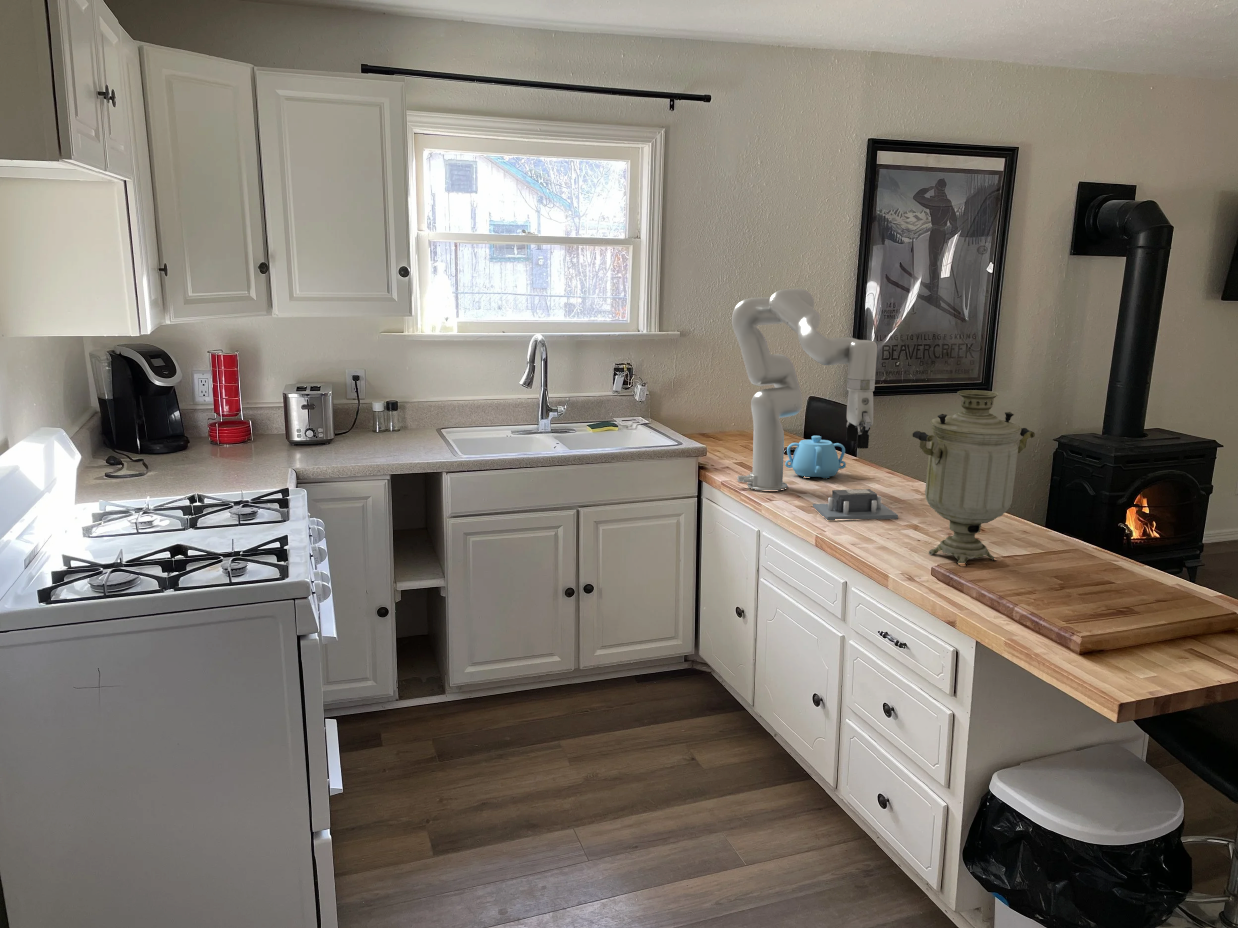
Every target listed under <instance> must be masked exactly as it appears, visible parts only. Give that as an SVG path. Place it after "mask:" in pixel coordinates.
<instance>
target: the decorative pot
mask: <svg viewBox="0 0 1238 928" xmlns="http://www.w3.org/2000/svg"><path fill="white" fill-rule="evenodd" d="M795 446H796V448H795V450H794V453H793V456H792V454H791V448H792V447H795ZM835 447H840V449H841V454H840V456H839V455H838V453H837V450H836V448H835ZM786 453H787V457H788V459H787V460H786V461H785V463H784V465H785V468H788V469H792V470H793V472H794V473H795V474H796V475H797V476H800V477H803V476H805V477H810V478H811V477H812V478H817V477H818V478H821V479H822V478H830V477H834V476H836V474H837V473H838V472H839V470H842V469H845V468H846V465H847V463H846V461H844V460H843V459H844V456H845V454H846V448H845V446H844V445H843V444H842V443H839V442H836V443H833V442H832V441H831V440H828V439H822V435H821V436H820V435H812V436H811V439H802V440H801V439H800V441H799V442H791V443H790V444H789V445H788V446H787V447H786ZM788 463H790V464H788ZM841 464H842V465H841Z"/></svg>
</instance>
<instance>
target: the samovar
mask: <svg viewBox="0 0 1238 928" xmlns="http://www.w3.org/2000/svg"><path fill="white" fill-rule="evenodd" d="M957 394H958V395H959V396H960V397H961V404H960V406H961V407H962V409H963V410H962V411H959V412H956V413H955V414H953V415H948V414H944V413H941V414H938V415H937V417H934V418H932V419H931V420H930V421H929V423H930V424H931V430H932V434H931V435H930V434H928V433H926V432H924V431H920V430H914V431H913V432H912V434H911V436H912V437H913V438H915V439H918V440H919V449H920V450H921V451H922V452H923V454H925V455H927V456H928V460H927V468H926V480H925V489H924V496H925V499H926V502H927V504H928V506H929V507H930V508H931V509H932V510H934V511H935V512H936V513H937V514H938V515H939V516H940V517H942V518H943V519H946V520H948V521H949V524H948V526H949V527H948V528H949V530H950V531H952V532H953V535H949V536H947V537H946V538H945V539H942V541H940V543H939V544H938V545H937V546H936V547H934V548H931V549H930V550H929V551H928V555H930V556H932V555H934V554H937V553H938V552H940V551H941V552H942V553H943V554H945V555H948V556H950V555H953V556H954V557H955V558H956V559H957V560H958V561H957V562H956V564H957V563H966V564H967V562H968V560H971V559H974V558H975V559H979V558H980V557H981V558H982V557H984V556H986V557H987V558H988V559H991V560H993V559H994V558H996V557H995V556H994V555H992V554H991V553H990V551H989V548H987V546H986V545H985V544H983V543H982V541H981V540H980V539H979V538H976V534H979V533H980V532H981V528H982V524H988V523H990V522H992V521H994V520H995V519H997V518H999V517H1002V516H1003V515H1004V514H1005V513H1006V512H1007V511H1008V510H1009V509H1010V507H1011V505H1012V502H1013V495H1014V487H1015V481H1016V480H1015V479H1016V473H1017V471H1016V470H1017V463H1018V455H1019V454H1020V453H1021V452H1022V451H1023V450H1024V449H1026V446H1027V442H1028V439H1030V438H1031V439H1032V438H1033V439H1034V438H1035V435H1036V433H1035V432H1034V431H1031V430H1029V429H1028V428H1027V427H1021V426H1019V425H1018V424H1016V423H1013V422H1011V421H1010V420H1011V419H1012V417H1013V416H1015V414H1014V413H1013V412H1011V411H1005V412H1004V415H1005V417H1004V419H1005V420H1003V419H999V417H998V416H996V415H994V414H993V413H990V410H991V409H992V408H993V406H994V401H995V398H997V397H998V396H999V393H998V392H995V391H988V390H977V389H975V390H974V389H973V390H972V389H970V390H969V389H968V390H966V389H965V390H959V391H957ZM1020 436H1021V437H1022V438H1021V439H1020V440H1019V444H1018V445H1017V441H1018V439H1019V437H1020ZM927 442H929V447H927Z"/></svg>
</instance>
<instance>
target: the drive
mask: <svg viewBox="0 0 1238 928" xmlns="http://www.w3.org/2000/svg"><path fill="white" fill-rule="evenodd" d="M877 496H878V494H877V493H876V492H875V491H873V490H872V489H871V488H863V489H860V488H859V489H832V491H831V497H832V498H834V499H833V509H835V510H836V511H837V512H843V507H844V501H849V511H848V512H871V505H872V500H876V501H877Z"/></svg>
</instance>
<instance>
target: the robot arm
mask: <svg viewBox="0 0 1238 928" xmlns="http://www.w3.org/2000/svg"><path fill="white" fill-rule="evenodd" d="M814 308H815V299H814V297H813V295H812V294H811V293H810V292H809V291H808V290H806V289H804V288H786V289H785V288H783V289H779V290H776V291H775V292H773V294H772V295H771V296H769V297H766V296H765V297H749V298H745V299H743V300H741V301H739V302H738V303H737V304H736V305H735V306H734V309H733V311H732V316H731V327H732V330H733V332H734V335H735V338H736V340H737V343H738V345H739V348H740V351H741V357H742V360H743V363H744V367H745V371H746V375H747V378H748V380H749V382H750V383H751V384H752V385H753V386H759V387H760V386H761V387H762V386H772V385H773V387H771V388H764V389H761V390H758V391H757V392H756V393H754V395H753V396H752V398H751V400H750V410H751V414H752V415H751V416H752V423H753V424H752V425H753V433H752V434H753V443H752V471H750V472H749V474H746V475H737V477H736V478H737V482H739V483H740V482H741V483H743V484H744V483H746V485H747V486H748V487H749V488H752V489H756V490H781V489H785V488H787V489H788V483H786V482H784V481H783V480H784V479H783V478H784V451H785V450H784V448H785V433H784V432H785V431H784V428H783V424H782V423H781V420H780V419H781V418H782V419H783V418H787V417H788V418H789V417H793V416H796V415H798V414H799V413H800V412H801V410H802V408H803V403H804V400H803V394H802V391H801V386H800V383H799V379H798V376H797V372H796V369H795V365H794V363H793V362H792V360H791V359H790V358H789V357H788V356H786V355H785V354H781V353H771V351H770V349H769V344H768V341H767V339H766V337H765V335H764V334H763V333H762V331H761V330H760V329H759V328H758V326H769V325H779V324H785V325H786V326H787V327H788V328H790V329H791V330H792V331H793V332H795V333H796V334H797V335H798V336H797V338H798V343H799V345H800V347H801V349H802V350H803V351H804V353H805V354H806V355H808V356H809V357H810V358H811V359H813V360H814V361H816V363H818V364H819V365H823V366H834V365H847V376H846V377H847V379H846V390H847V391H848V395H847V403H846V421H847V422H846V428H845V429H846V431H845V432H846V433H845V441H846V442H856V449H860V450H861V449H864V450H865V449H869V443H870V441H869V440H870V430H871V427H872V426H873V425H874V393H873V392H874V391H875V387H876V386H875V383H876V370H877V359H878V357H877V355H878V345H877V343H876V342H875V341H873V340H870V339H869V340H868V339H858V338H855V337H848V336H847V337H832V338H831V337H829V338H827V337H826V336H825V335H823V334H822V333H820V332H819V331H818V328H819V326H820V324H821V315H820V313H819V312H818V311H817V310H816V309H814ZM747 486H746V487H747ZM748 487H747V488H748ZM749 488H748V489H749ZM752 489H751V490H752Z"/></svg>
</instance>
